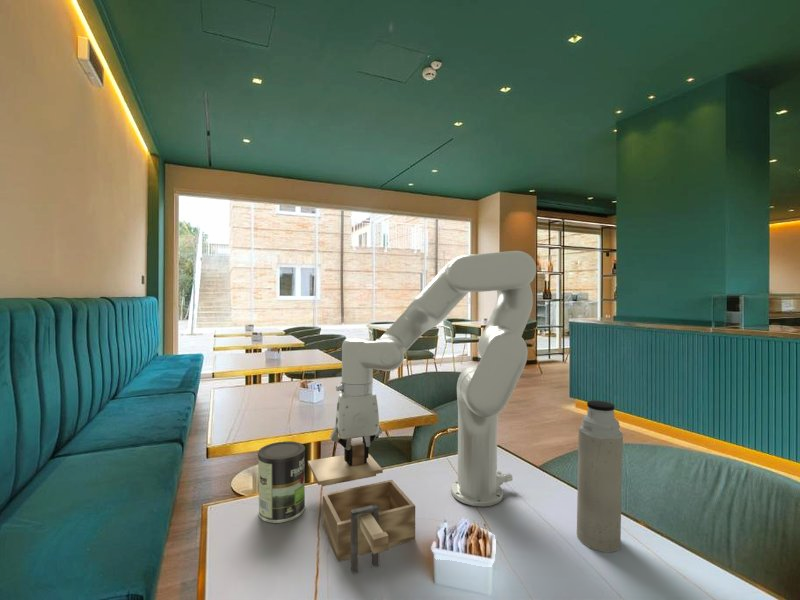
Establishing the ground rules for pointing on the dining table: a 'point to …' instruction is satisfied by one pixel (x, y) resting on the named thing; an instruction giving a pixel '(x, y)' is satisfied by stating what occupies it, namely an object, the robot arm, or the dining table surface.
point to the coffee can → (281, 481)
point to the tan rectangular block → (373, 533)
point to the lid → (344, 467)
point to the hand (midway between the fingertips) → (356, 461)
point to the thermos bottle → (599, 478)
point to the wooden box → (376, 499)
